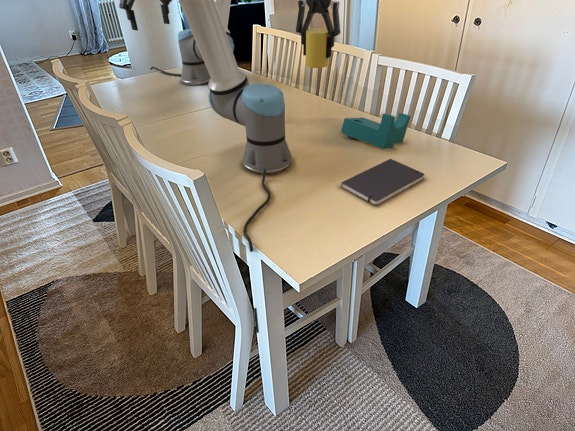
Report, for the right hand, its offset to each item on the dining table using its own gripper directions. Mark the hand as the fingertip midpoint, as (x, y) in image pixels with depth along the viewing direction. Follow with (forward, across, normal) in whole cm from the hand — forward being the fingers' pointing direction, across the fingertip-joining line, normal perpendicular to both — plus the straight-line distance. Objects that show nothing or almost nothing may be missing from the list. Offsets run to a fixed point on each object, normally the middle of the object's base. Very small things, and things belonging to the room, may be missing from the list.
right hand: (317, 55), depth 141 cm
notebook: (+23, -36, +36) cm, 56 cm away
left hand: (-7, +62, +13) cm, 63 cm away
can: (+3, 0, 0) cm, 3 cm away
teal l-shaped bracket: (+23, -25, +8) cm, 35 cm away
